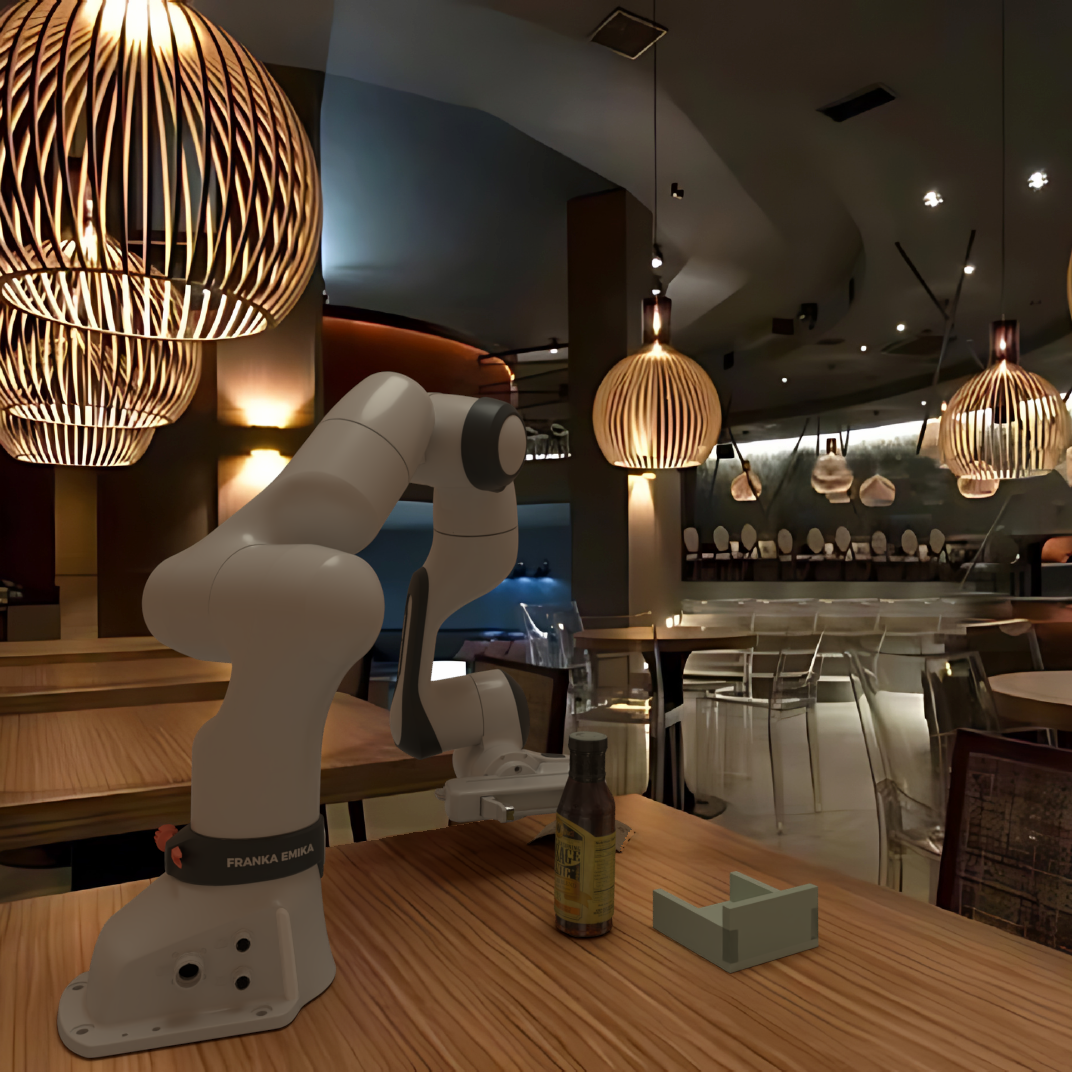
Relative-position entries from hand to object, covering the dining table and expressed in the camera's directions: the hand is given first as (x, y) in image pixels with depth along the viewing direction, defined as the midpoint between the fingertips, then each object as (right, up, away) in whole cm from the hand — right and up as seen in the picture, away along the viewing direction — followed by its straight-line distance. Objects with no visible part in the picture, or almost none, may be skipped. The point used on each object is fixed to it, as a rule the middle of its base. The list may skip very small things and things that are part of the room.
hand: (547, 811), depth 100 cm
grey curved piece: (+5, -10, +19) cm, 22 cm away
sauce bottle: (+4, -9, -11) cm, 14 cm away
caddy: (+19, -9, -12) cm, 24 cm away
